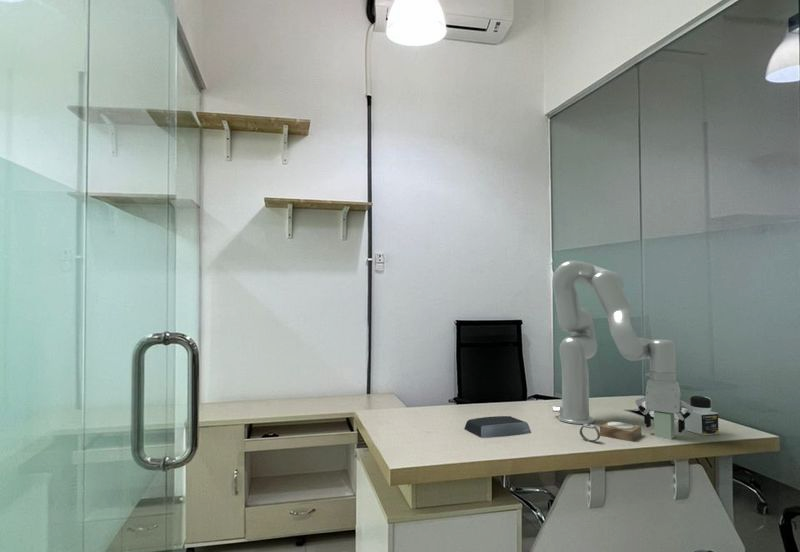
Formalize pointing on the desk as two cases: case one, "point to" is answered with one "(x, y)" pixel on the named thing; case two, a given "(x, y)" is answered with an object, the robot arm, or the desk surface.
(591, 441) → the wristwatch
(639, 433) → the pedestal
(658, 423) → the sage block
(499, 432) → the external hard drive
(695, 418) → the medicine bottle
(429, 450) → the desk surface
